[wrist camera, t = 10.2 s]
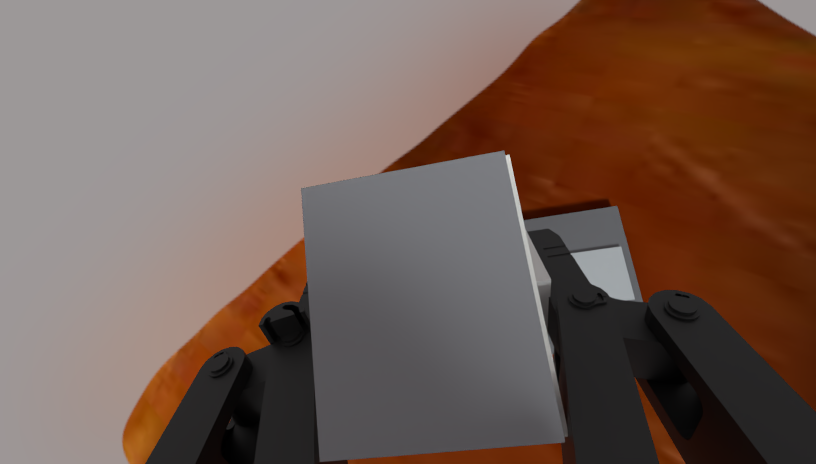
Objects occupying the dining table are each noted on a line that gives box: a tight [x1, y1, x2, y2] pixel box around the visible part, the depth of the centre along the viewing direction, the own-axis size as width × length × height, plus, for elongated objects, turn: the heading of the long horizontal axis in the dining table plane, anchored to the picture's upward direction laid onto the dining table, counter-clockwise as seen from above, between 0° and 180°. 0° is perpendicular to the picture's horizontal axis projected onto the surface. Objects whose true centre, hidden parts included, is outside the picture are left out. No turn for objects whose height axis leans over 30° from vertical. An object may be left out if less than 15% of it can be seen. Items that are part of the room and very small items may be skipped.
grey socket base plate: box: [523, 206, 643, 354], centre depth 30 cm, size 24×12×3 cm, turn 97°
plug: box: [301, 151, 568, 462], centre depth 12 cm, size 5×6×12 cm
